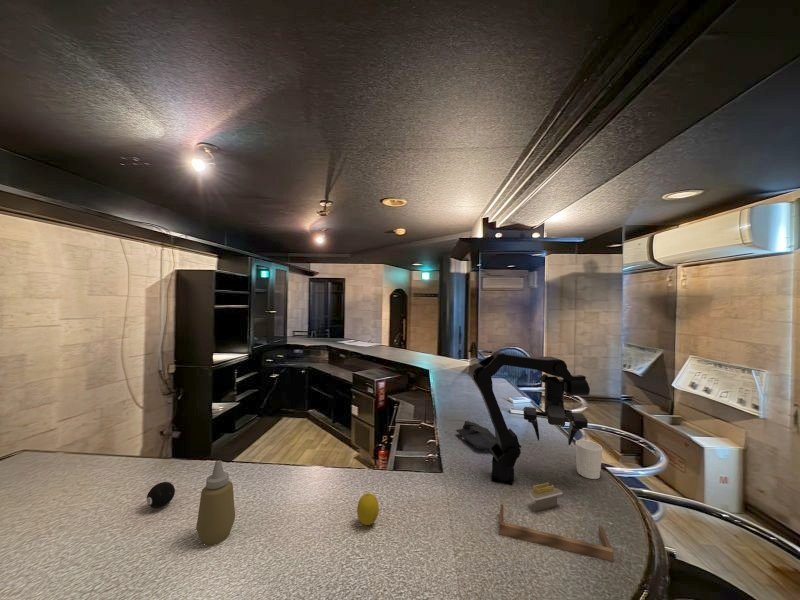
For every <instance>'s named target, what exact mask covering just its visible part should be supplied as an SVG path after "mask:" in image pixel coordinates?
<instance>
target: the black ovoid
mask: <svg viewBox="0 0 800 600" xmlns="http://www.w3.org/2000/svg"><path fill="white" fill-rule="evenodd" d="M175 493H176V488H175V486H174V485H173V483H171V482H169V481H162V482H159V483H156V484H155V485H154V486H152V488H150V490H148V493H147V495H146V503H147V504H148V506H149V507H150V508H153V509H161V508H163V507H166V506H167V505H169V504H170V503H171V502H172V500H173V499H174V497H175Z"/></svg>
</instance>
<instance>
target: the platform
mask: <svg viewBox="0 0 800 600" xmlns="http://www.w3.org/2000/svg"><path fill="white" fill-rule="evenodd" d="M528 492H529V495H530V497H531V498H532V499H533V500H534V511H535V512H539V511H543V510H546V509H550V508H554V507H557V506H558V496H561V495H563V490H561V489H559V488H557V487H554V485H550V483H549V482H545V483H541V484H536V485H533V488H530V489H529V491H528Z"/></svg>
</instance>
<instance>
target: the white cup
mask: <svg viewBox="0 0 800 600" xmlns="http://www.w3.org/2000/svg"><path fill="white" fill-rule="evenodd" d="M575 458H576V459H575V460H576V472H577V474H578V475H581V477H584V478H586V479H592V480H597V479H600V477H601V468H602V458H603V447H602V445H601V444H599V443H598V442H594V441H592V440H587V439H577V440H576V441H575Z"/></svg>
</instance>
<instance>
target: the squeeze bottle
mask: <svg viewBox="0 0 800 600" xmlns="http://www.w3.org/2000/svg"><path fill="white" fill-rule="evenodd" d="M214 463H215V464H214V466H213V471H212V473H211V475H209V476H208V477H207V478H206V481H205V482H206V483H205V486H204V488H202V489H201V492H200V493H201V494H200V499H199V500H200V501H199V506H198V508H199V509H198V514H197V521H196V526H195V527H196V528H195V529H196V532H197V534H198V537H199V540H200V542H201V544H202V545H203V544H205V545H204V546H206V545H212V546H215V545H214V544H216V545H218V543H219V544H220V542H221V543H222V541H223V540H224V541H225V540H226V539H228V537H229V536H230V534H231V531H232V527H233V525H234V523H235V520H236V509H235V498H234V497H235V496H234V495H235V494H234V486H233V485H234V484H233V483H232V481H231V480H229V479H230V477H229V476H230V475H229V473H228V472H226V471H224V469H223V465H222V463H223V462H222V460H216V461H215V462H214ZM224 541H223V542H224Z"/></svg>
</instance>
